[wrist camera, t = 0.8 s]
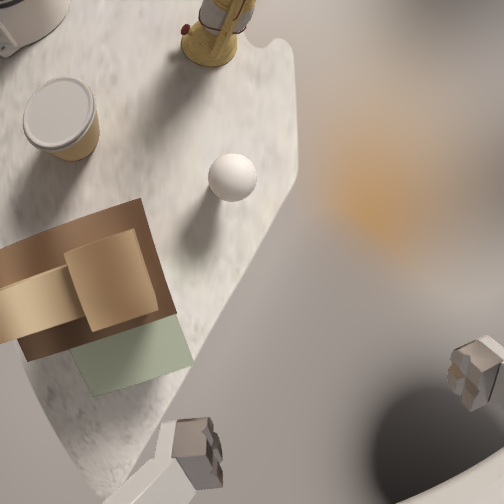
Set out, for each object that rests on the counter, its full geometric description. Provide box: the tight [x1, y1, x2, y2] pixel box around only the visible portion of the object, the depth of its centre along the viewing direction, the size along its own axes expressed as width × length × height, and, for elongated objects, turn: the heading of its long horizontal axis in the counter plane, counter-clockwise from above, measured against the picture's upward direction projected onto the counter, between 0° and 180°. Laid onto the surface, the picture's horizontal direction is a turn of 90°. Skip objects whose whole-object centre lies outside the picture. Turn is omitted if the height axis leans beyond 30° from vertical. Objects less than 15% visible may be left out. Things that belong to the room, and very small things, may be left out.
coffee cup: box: [23, 77, 100, 161], centre depth 34 cm, size 9×9×12 cm
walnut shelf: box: [0, 198, 177, 362], centre depth 31 cm, size 12×8×26 cm, turn 106°
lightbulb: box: [208, 153, 257, 202], centre depth 42 cm, size 6×6×11 cm
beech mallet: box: [0, 228, 158, 344], centre depth 16 cm, size 19×4×4 cm, turn 106°
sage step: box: [69, 314, 195, 397], centre depth 37 cm, size 12×9×16 cm
